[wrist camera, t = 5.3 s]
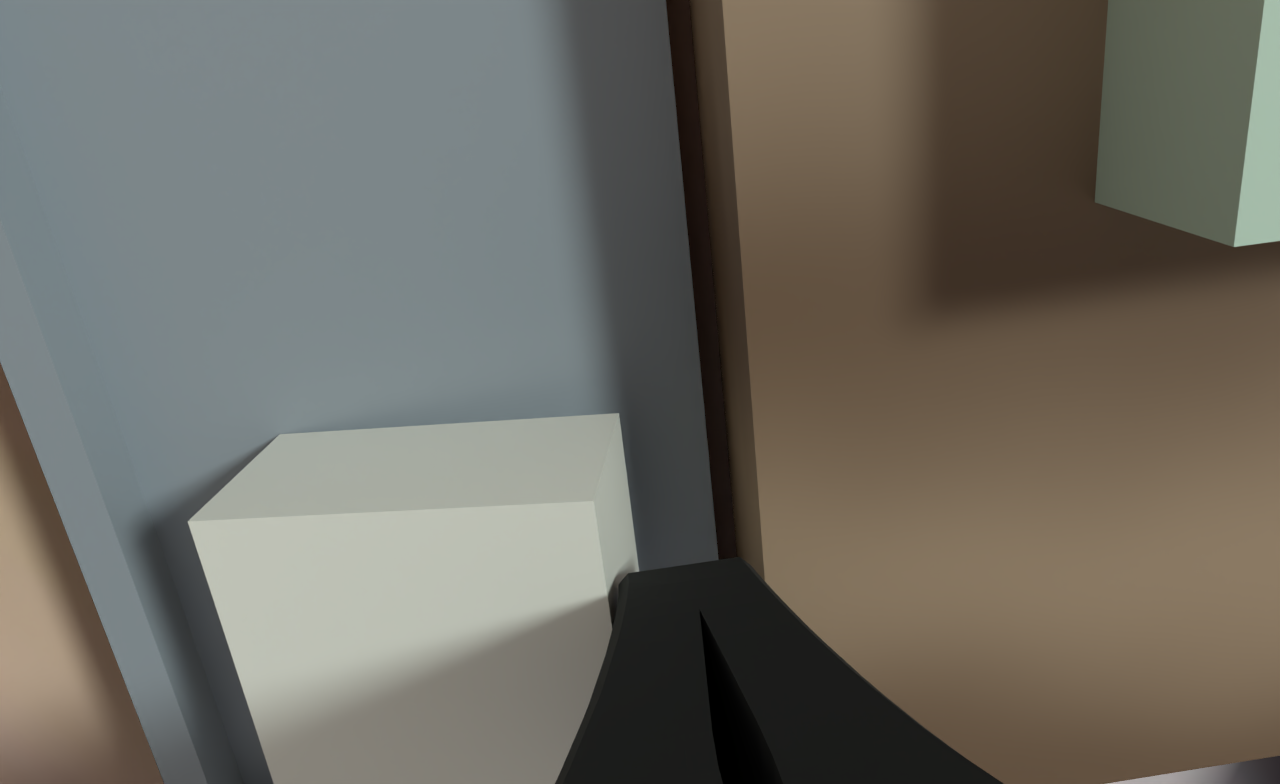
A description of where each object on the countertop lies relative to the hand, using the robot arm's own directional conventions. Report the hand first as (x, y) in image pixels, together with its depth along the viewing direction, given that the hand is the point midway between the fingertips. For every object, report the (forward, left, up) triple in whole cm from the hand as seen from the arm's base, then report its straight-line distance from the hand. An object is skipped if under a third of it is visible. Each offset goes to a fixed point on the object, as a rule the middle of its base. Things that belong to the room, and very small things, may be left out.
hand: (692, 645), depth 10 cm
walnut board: (+2, -5, -3) cm, 6 cm away
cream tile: (0, +2, -2) cm, 3 cm away
